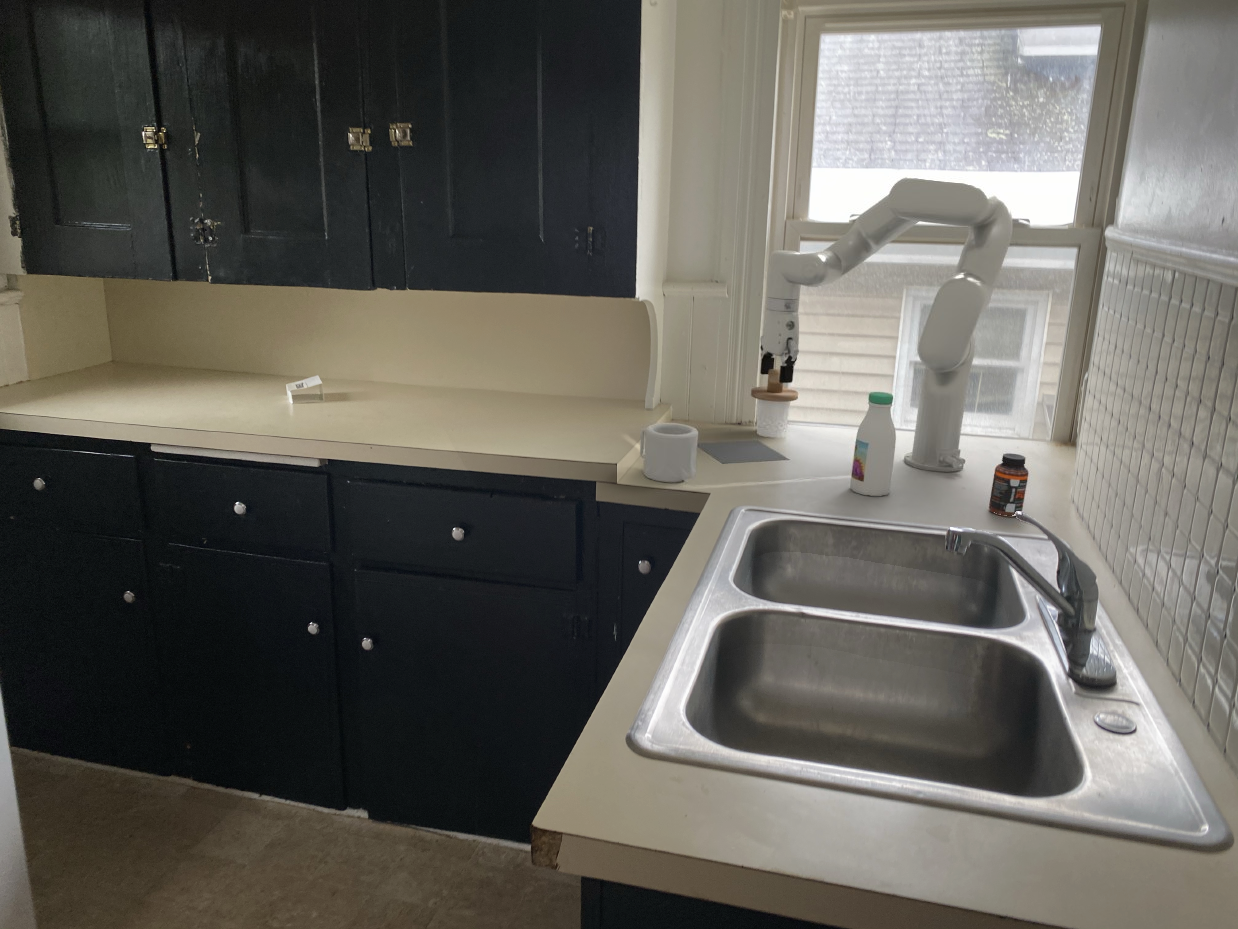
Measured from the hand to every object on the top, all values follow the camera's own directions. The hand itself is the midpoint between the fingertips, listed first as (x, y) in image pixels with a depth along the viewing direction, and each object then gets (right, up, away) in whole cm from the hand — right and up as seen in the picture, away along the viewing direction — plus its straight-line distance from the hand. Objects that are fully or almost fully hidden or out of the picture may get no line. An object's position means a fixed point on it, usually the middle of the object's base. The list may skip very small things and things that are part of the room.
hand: (776, 378), depth 226 cm
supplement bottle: (+37, -30, -43) cm, 64 cm away
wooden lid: (0, -4, +1) cm, 4 cm away
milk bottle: (+13, -26, -34) cm, 44 cm away
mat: (-10, -18, -12) cm, 24 cm away
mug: (-28, -22, -28) cm, 45 cm away
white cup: (-1, -14, +4) cm, 15 cm away
